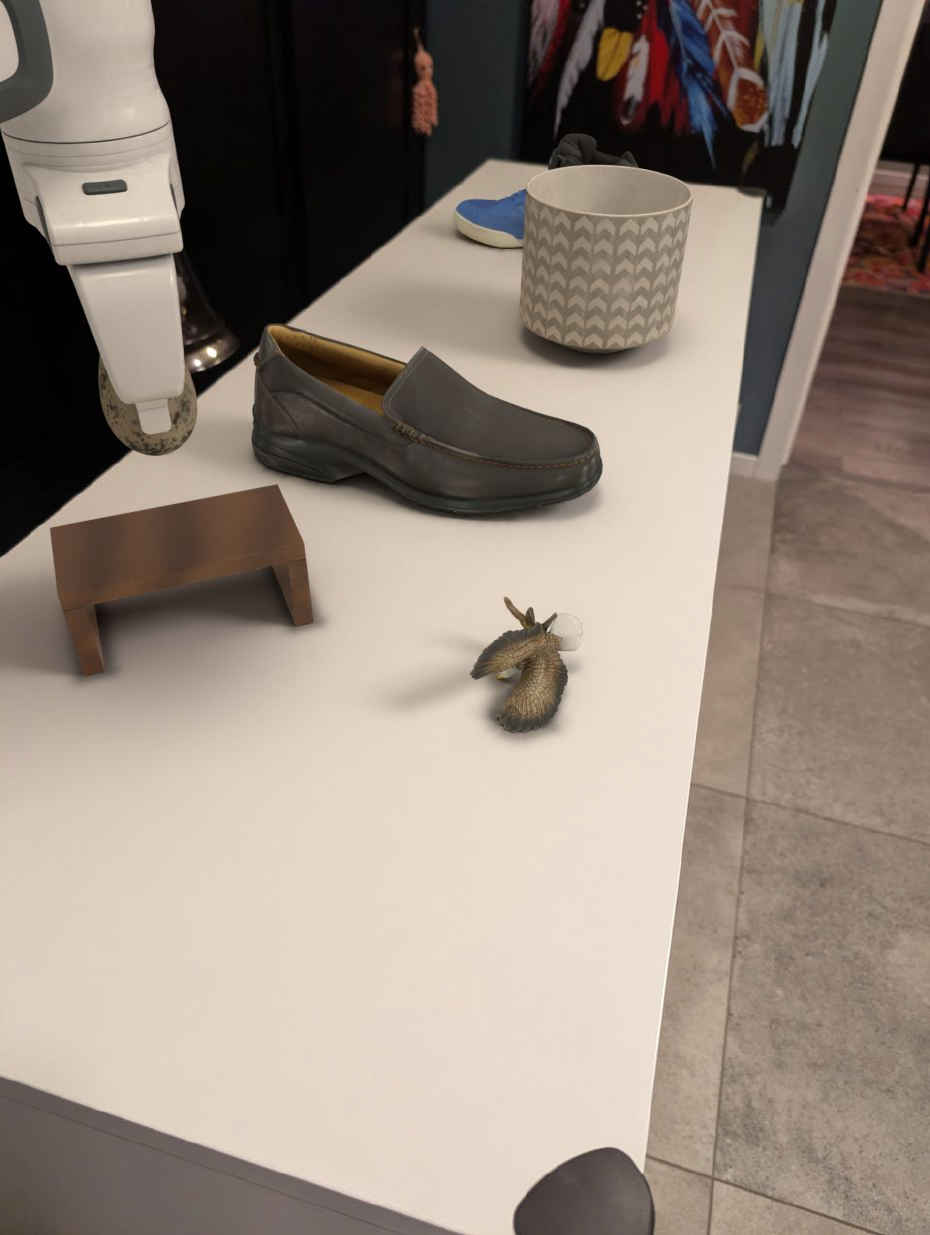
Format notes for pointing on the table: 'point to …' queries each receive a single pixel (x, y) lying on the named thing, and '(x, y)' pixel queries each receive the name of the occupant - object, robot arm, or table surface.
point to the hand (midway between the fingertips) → (149, 402)
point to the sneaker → (506, 216)
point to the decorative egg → (128, 423)
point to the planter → (603, 255)
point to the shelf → (175, 556)
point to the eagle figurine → (531, 666)
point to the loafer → (410, 428)
